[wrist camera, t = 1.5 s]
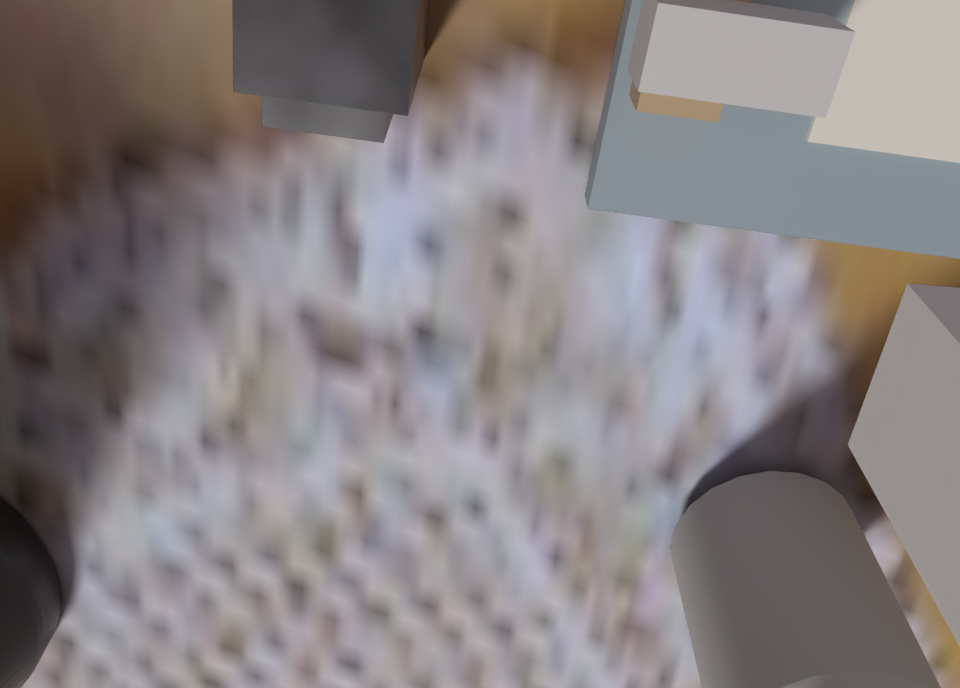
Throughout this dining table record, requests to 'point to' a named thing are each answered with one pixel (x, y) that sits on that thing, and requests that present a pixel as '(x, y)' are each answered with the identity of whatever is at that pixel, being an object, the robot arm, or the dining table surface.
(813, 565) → the can
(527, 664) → the dining table surface
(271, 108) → the stepped grey block
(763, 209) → the rig
